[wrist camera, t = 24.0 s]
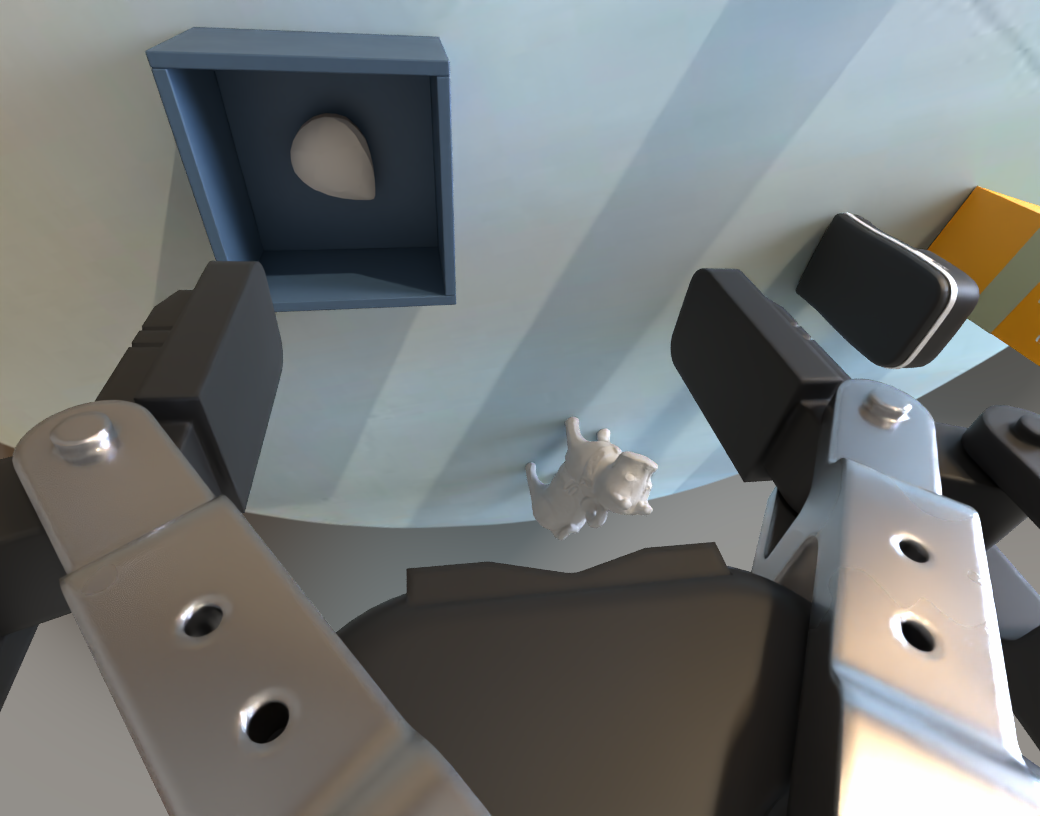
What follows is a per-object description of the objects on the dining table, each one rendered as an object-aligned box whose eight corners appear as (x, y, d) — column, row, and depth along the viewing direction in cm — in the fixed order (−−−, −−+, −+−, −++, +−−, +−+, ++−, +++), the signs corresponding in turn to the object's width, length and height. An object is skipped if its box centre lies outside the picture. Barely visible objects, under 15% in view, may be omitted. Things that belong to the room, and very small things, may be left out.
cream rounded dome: (331, 91, 29) (327, 103, 27) (400, 166, 32) (400, 181, 30) (278, 147, 30) (271, 161, 28) (349, 214, 33) (347, 231, 31)
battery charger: (829, 295, 45) (931, 380, 36) (789, 293, 44) (884, 380, 35) (878, 211, 40) (1006, 287, 32) (834, 207, 39) (955, 283, 31)
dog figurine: (639, 402, 49) (686, 492, 41) (558, 490, 55) (586, 583, 47) (594, 383, 46) (636, 475, 39) (515, 477, 53) (537, 572, 45)
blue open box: (144, 50, 21) (233, 314, 29) (449, 60, 23) (456, 304, 31) (192, 26, 26) (257, 256, 34) (439, 36, 28) (447, 251, 36)
